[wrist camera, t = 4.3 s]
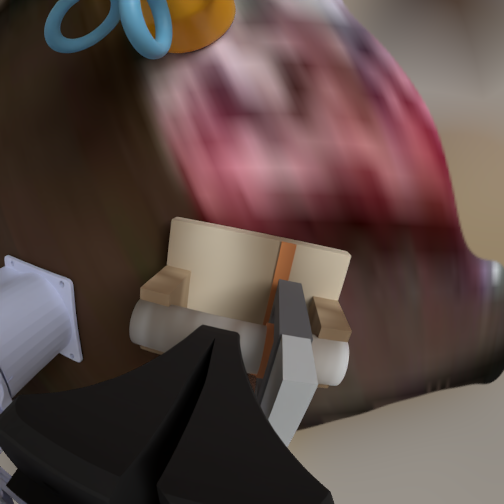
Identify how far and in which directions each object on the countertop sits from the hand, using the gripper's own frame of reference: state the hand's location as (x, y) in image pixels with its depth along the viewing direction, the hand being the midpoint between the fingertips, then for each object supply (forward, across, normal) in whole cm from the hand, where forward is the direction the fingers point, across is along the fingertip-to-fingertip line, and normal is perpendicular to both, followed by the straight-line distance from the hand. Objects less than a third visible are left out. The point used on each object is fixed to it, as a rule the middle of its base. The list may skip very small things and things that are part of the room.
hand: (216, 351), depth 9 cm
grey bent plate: (+6, -3, +2) cm, 6 cm away
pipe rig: (+8, -1, +2) cm, 8 cm away
